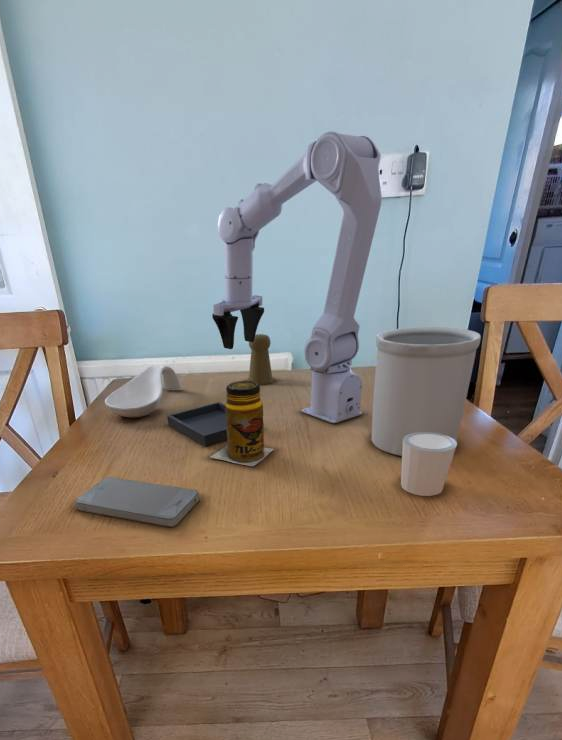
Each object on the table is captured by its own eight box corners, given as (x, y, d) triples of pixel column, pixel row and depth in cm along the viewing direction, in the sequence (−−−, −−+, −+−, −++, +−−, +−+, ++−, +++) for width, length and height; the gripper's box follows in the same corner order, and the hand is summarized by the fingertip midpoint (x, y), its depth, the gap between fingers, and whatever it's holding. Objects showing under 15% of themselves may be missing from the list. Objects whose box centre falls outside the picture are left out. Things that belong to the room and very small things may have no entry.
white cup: (407, 471, 70) (414, 427, 66) (454, 483, 66) (464, 437, 62) (388, 489, 66) (394, 443, 62) (437, 503, 62) (447, 455, 58)
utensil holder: (351, 433, 84) (359, 331, 75) (421, 421, 87) (437, 322, 78) (398, 466, 71) (414, 349, 62) (478, 450, 75) (505, 337, 66)
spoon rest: (148, 425, 92) (142, 390, 89) (97, 421, 96) (89, 387, 92) (194, 390, 111) (190, 360, 108) (150, 388, 115) (146, 358, 111)
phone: (108, 483, 71) (107, 476, 71) (202, 498, 66) (201, 490, 65) (74, 509, 65) (72, 501, 64) (174, 528, 60) (173, 519, 59)
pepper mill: (263, 385, 112) (262, 338, 106) (243, 382, 115) (241, 336, 109) (277, 379, 116) (277, 333, 110) (257, 376, 119) (256, 331, 113)
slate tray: (260, 429, 87) (260, 419, 86) (205, 446, 82) (204, 435, 81) (219, 411, 98) (219, 401, 96) (168, 425, 92) (166, 415, 91)
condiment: (254, 467, 74) (251, 393, 67) (209, 458, 77) (203, 387, 71) (274, 450, 79) (273, 380, 73) (231, 442, 83) (227, 375, 77)
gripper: (244, 272, 103) (244, 335, 110) (201, 279, 93) (204, 348, 101) (270, 274, 99) (268, 340, 107) (228, 282, 90) (229, 354, 97)
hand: (239, 344), depth 104 cm, fingers open, 7 cm apart
